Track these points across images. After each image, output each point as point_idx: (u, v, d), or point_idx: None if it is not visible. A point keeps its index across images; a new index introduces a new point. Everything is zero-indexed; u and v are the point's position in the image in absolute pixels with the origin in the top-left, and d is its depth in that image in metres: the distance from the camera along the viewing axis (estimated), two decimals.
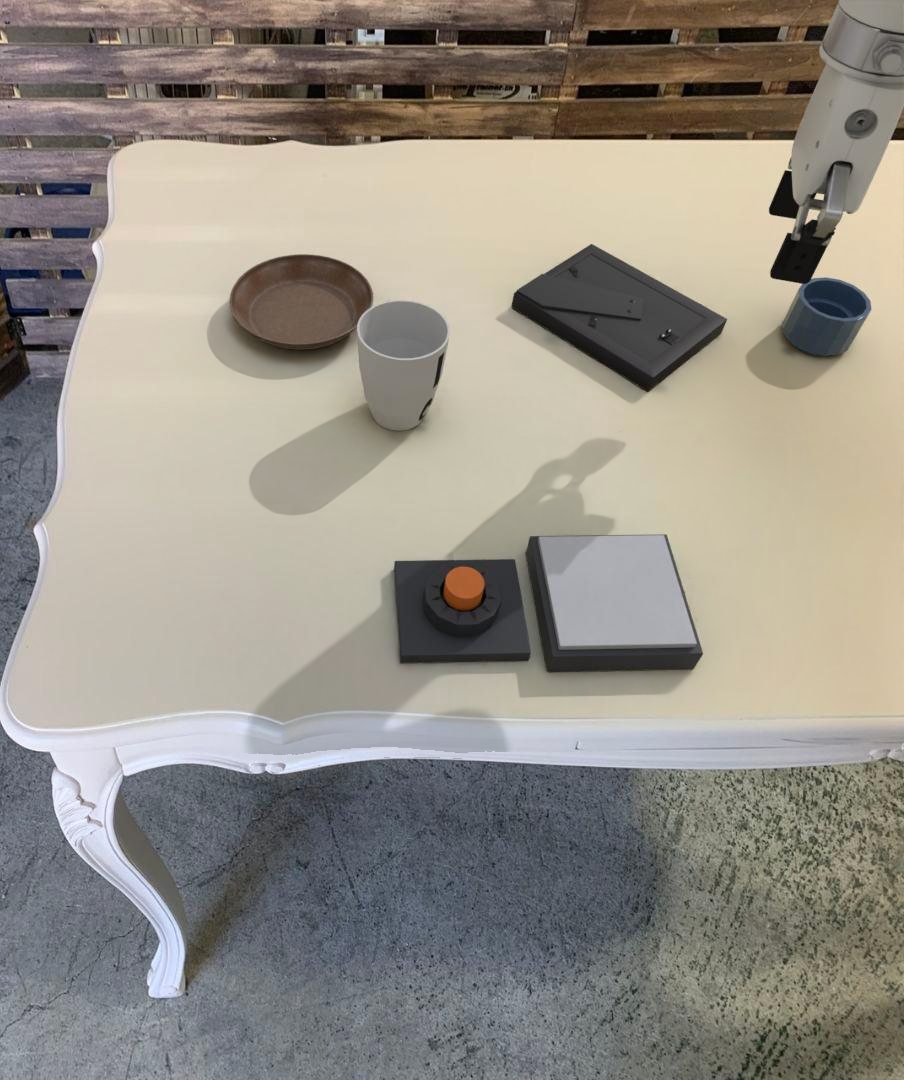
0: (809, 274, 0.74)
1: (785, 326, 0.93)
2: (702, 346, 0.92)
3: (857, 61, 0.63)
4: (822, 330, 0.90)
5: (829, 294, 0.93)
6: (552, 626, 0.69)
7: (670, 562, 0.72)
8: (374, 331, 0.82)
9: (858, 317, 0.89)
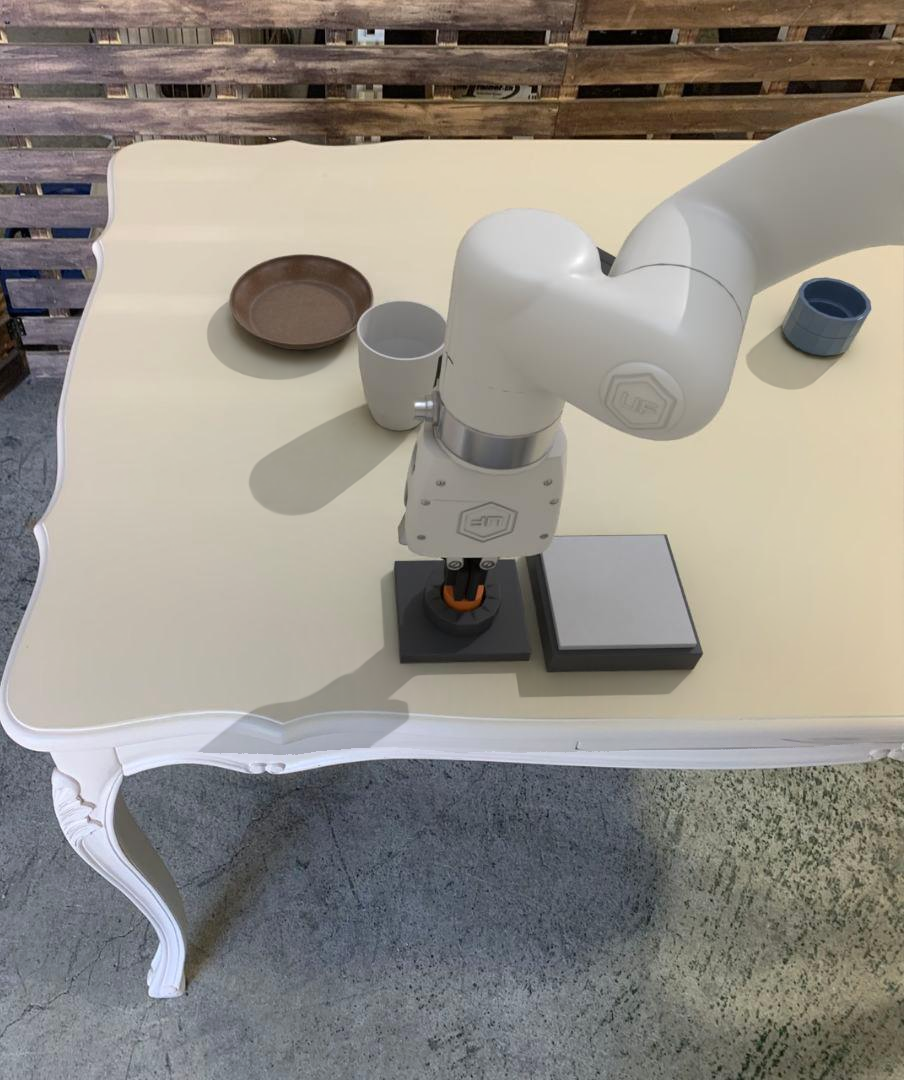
0: (455, 593, 0.68)
1: (785, 326, 0.93)
2: None
3: None
4: (822, 330, 0.90)
5: (829, 294, 0.93)
6: (552, 626, 0.69)
7: (670, 562, 0.72)
8: (374, 331, 0.82)
9: (858, 317, 0.89)
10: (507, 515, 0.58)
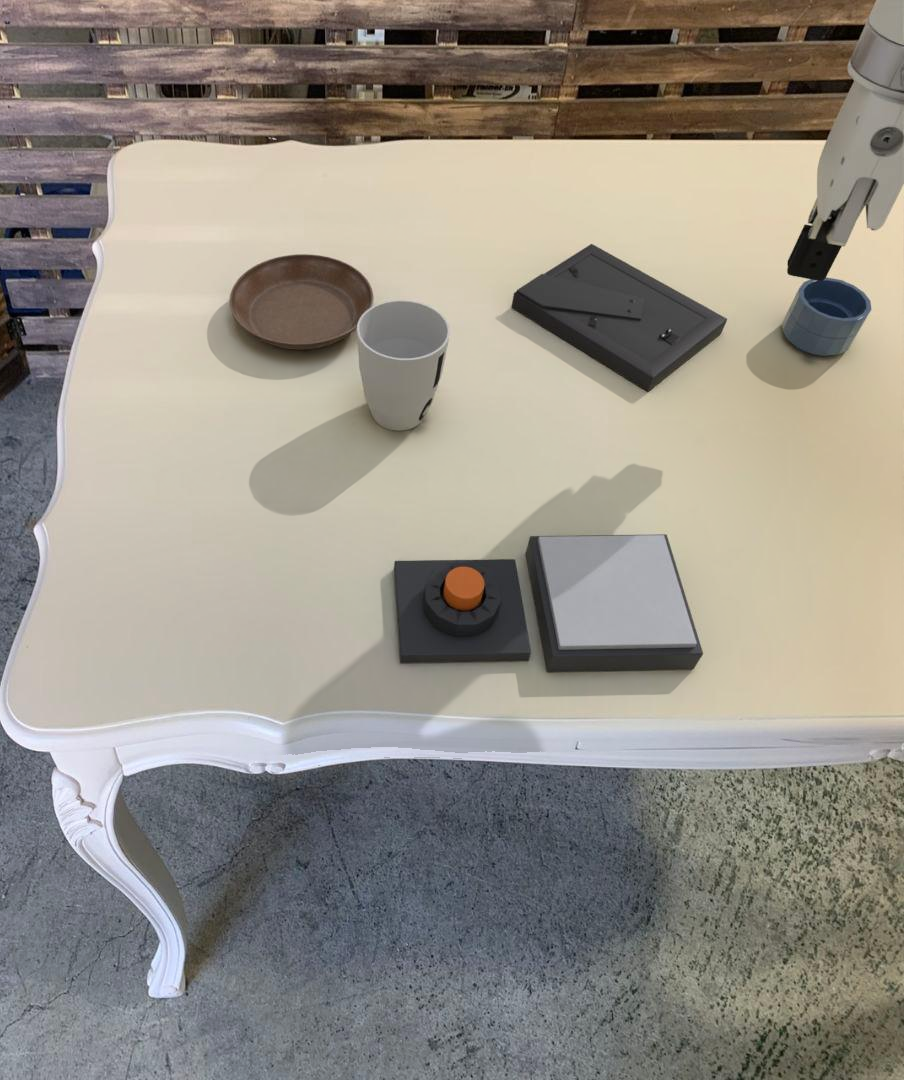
0: (824, 271, 0.78)
1: (785, 326, 0.93)
2: (702, 345, 0.92)
3: (885, 79, 0.63)
4: (822, 330, 0.90)
5: (829, 294, 0.93)
6: (552, 626, 0.69)
7: (670, 562, 0.72)
8: (374, 331, 0.82)
9: (858, 317, 0.89)
10: None
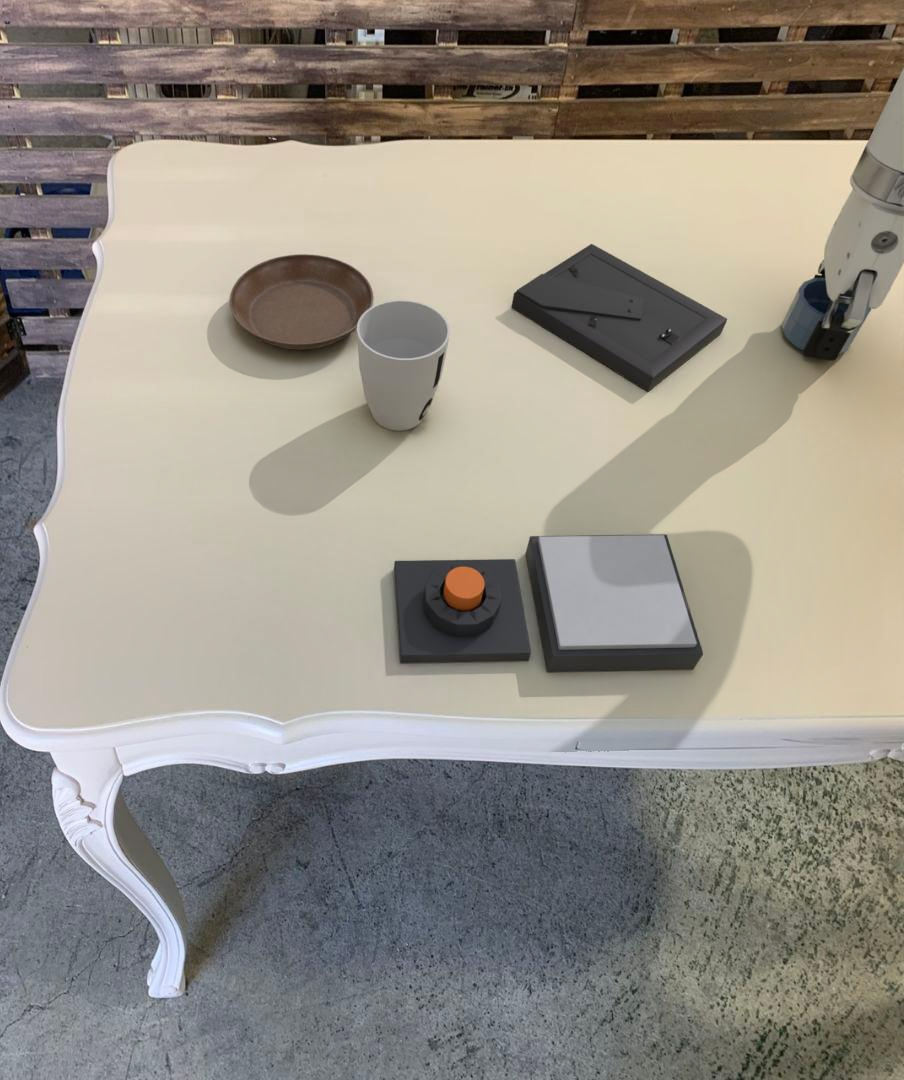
0: (836, 353, 0.90)
1: (785, 326, 0.93)
2: (702, 345, 0.92)
3: (882, 194, 0.78)
4: None
5: None
6: (552, 626, 0.69)
7: (670, 562, 0.72)
8: (374, 331, 0.82)
9: None
10: None
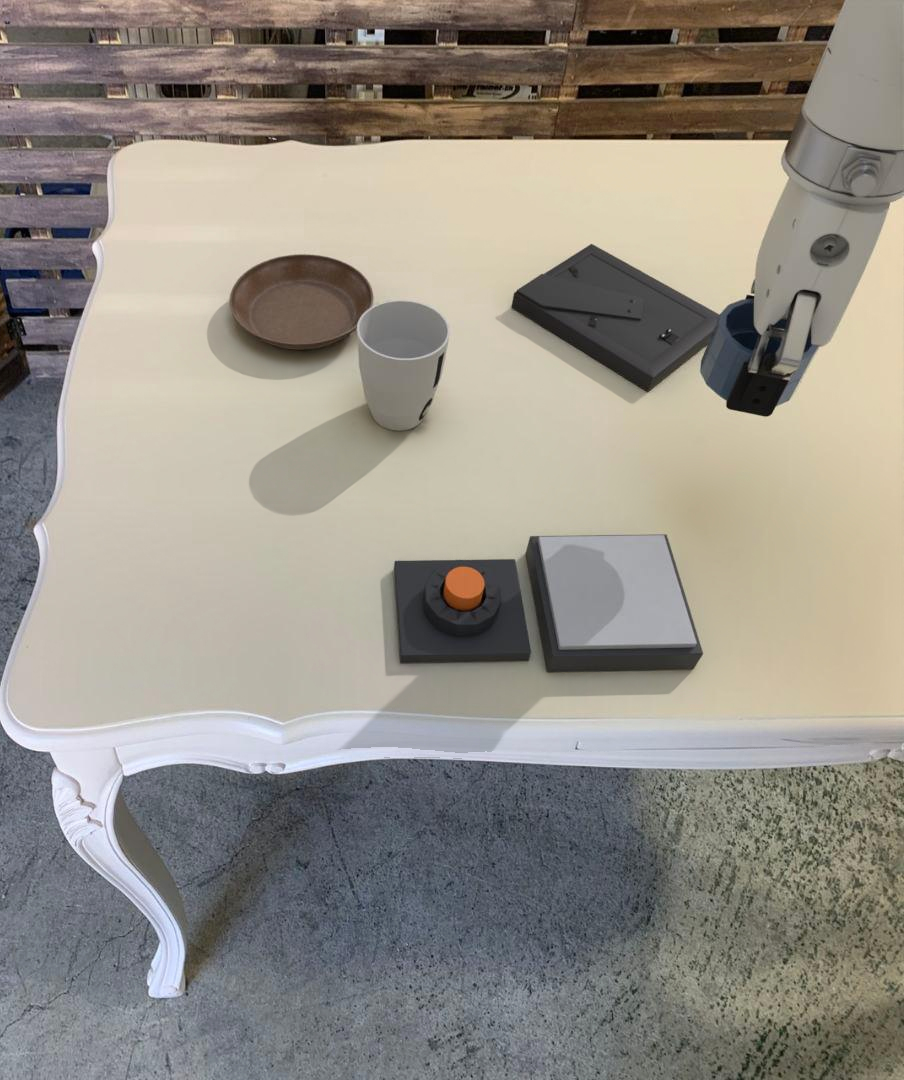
0: (770, 407, 0.64)
1: (703, 366, 0.67)
2: (702, 345, 0.92)
3: (824, 178, 0.52)
4: None
5: None
6: (552, 626, 0.69)
7: (670, 562, 0.72)
8: (374, 331, 0.82)
9: None
10: None
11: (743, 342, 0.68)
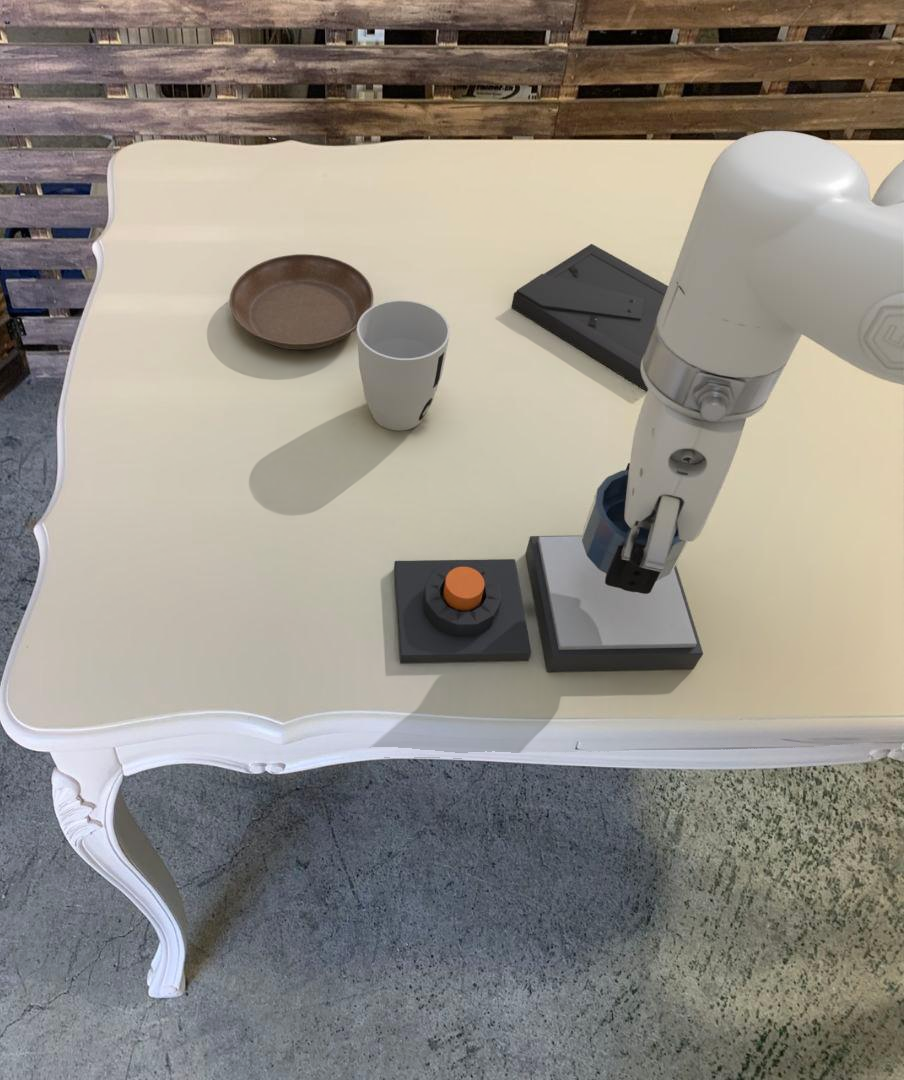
0: (648, 586, 0.63)
1: (584, 536, 0.66)
2: None
3: (677, 395, 0.51)
4: None
5: None
6: (552, 626, 0.69)
7: None
8: (374, 331, 0.82)
9: (675, 540, 0.61)
10: None
11: None
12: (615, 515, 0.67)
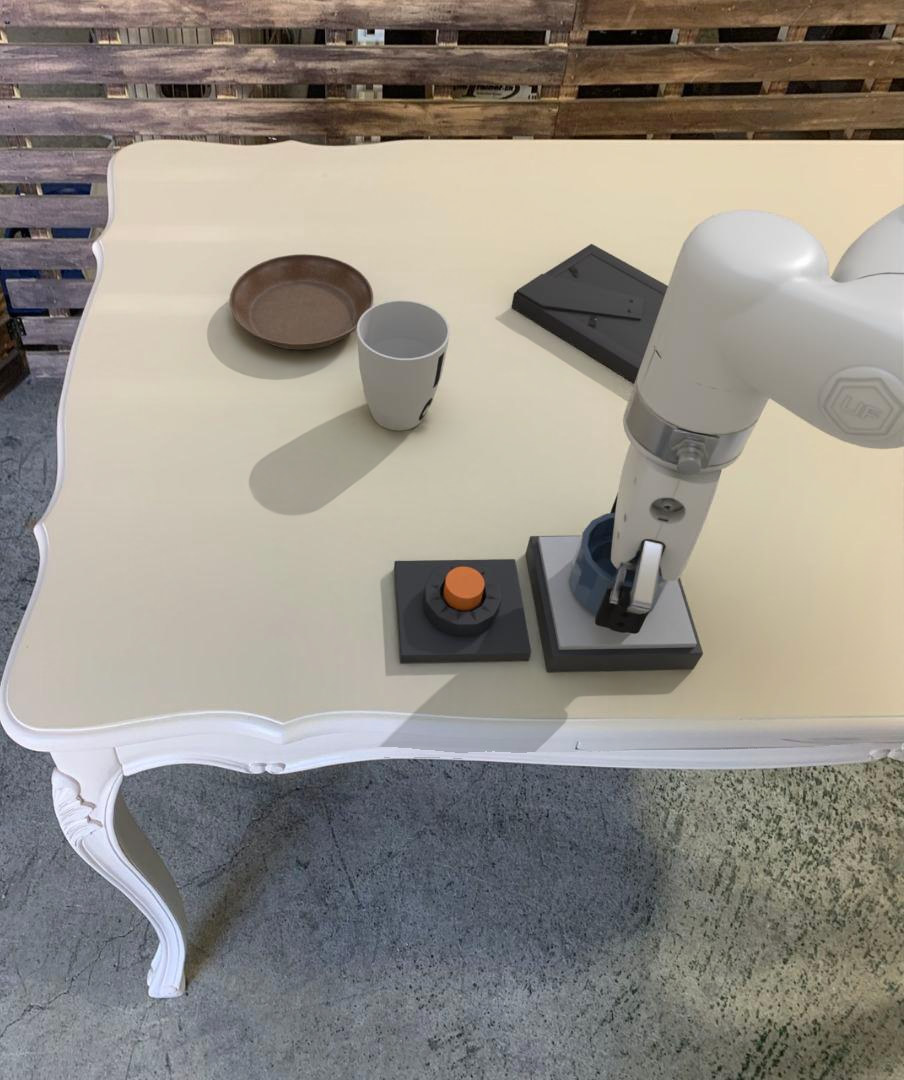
0: (637, 626, 0.65)
1: (571, 575, 0.69)
2: None
3: (657, 449, 0.54)
4: None
5: None
6: (552, 626, 0.69)
7: None
8: (374, 331, 0.82)
9: None
10: None
11: (610, 549, 0.70)
12: (601, 554, 0.71)
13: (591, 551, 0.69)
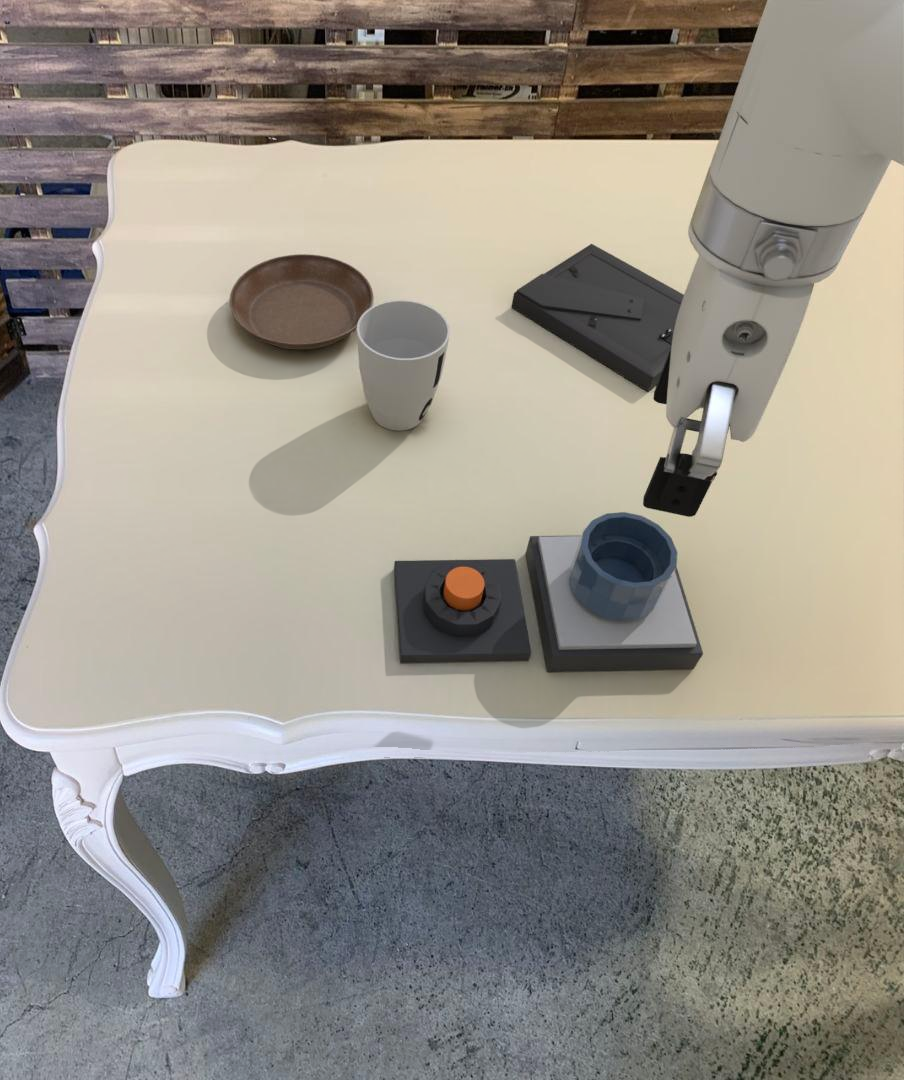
0: (694, 506, 0.54)
1: (571, 575, 0.69)
2: None
3: (734, 255, 0.43)
4: (610, 595, 0.66)
5: (630, 532, 0.69)
6: (552, 626, 0.69)
7: None
8: (374, 331, 0.82)
9: (656, 581, 0.65)
10: None
11: (610, 549, 0.70)
12: (601, 554, 0.71)
13: (591, 551, 0.69)
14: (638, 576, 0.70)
